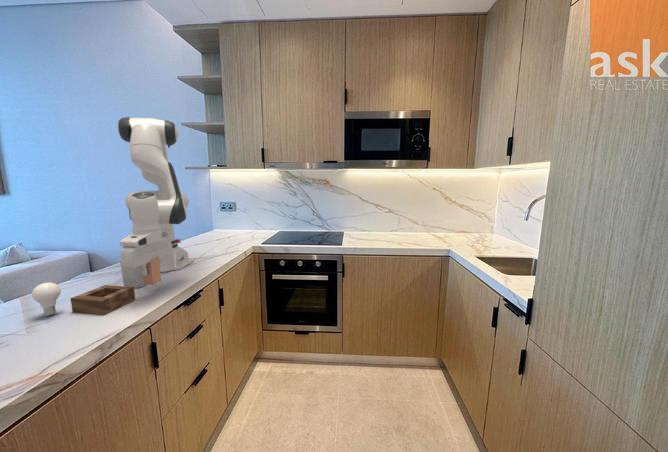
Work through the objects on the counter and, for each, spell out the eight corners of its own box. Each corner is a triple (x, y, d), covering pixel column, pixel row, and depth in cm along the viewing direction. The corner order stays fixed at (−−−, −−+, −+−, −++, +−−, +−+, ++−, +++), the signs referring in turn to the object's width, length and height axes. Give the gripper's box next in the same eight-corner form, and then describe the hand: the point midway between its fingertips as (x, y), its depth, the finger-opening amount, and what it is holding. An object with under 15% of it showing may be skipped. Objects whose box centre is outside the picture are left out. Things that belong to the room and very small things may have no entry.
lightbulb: (69, 310, 91) (64, 279, 90) (50, 320, 85) (45, 286, 83) (50, 310, 91) (45, 279, 89) (29, 320, 85) (23, 286, 83)
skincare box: (145, 284, 115) (142, 257, 113) (139, 288, 111) (136, 260, 109) (130, 285, 114) (126, 257, 113) (122, 289, 110) (119, 260, 108)
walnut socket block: (107, 297, 102) (105, 284, 101) (135, 299, 100) (134, 286, 100) (72, 312, 90) (70, 298, 89) (104, 315, 89) (102, 300, 88)
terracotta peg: (151, 280, 105) (149, 255, 104) (161, 281, 105) (158, 256, 103) (143, 284, 102) (140, 258, 100) (153, 285, 101) (150, 259, 99)
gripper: (161, 231, 111) (164, 263, 113) (115, 242, 91) (120, 281, 93) (175, 231, 110) (178, 264, 112) (131, 243, 90) (136, 282, 92)
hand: (151, 272), depth 103 cm, fingers closed on terracotta peg, 4 cm apart
